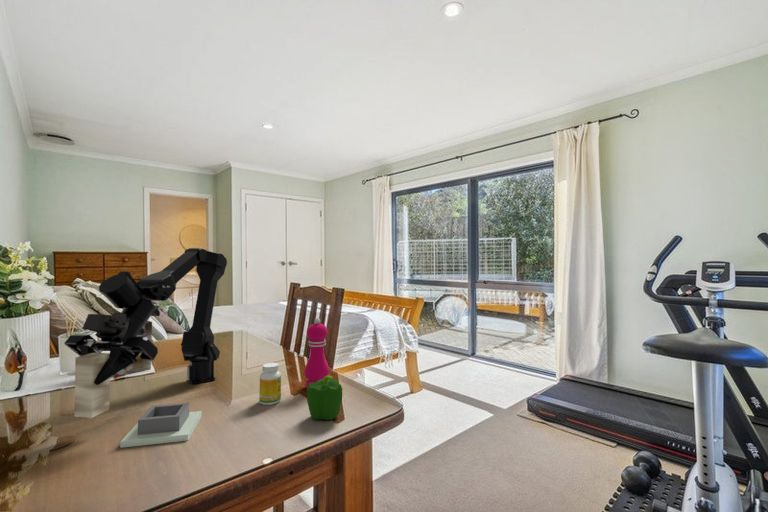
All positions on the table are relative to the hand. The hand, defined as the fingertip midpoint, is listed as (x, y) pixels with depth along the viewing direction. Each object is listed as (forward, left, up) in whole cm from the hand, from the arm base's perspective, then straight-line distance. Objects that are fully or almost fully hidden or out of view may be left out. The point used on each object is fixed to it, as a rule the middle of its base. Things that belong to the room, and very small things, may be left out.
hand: (86, 383), depth 74 cm
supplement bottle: (-37, +5, -12) cm, 39 cm away
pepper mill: (-52, +3, -12) cm, 53 cm away
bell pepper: (-43, +22, -12) cm, 50 cm away
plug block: (-1, -1, -7) cm, 7 cm away
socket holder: (-13, +6, -11) cm, 18 cm away
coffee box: (-13, -50, -12) cm, 53 cm away
